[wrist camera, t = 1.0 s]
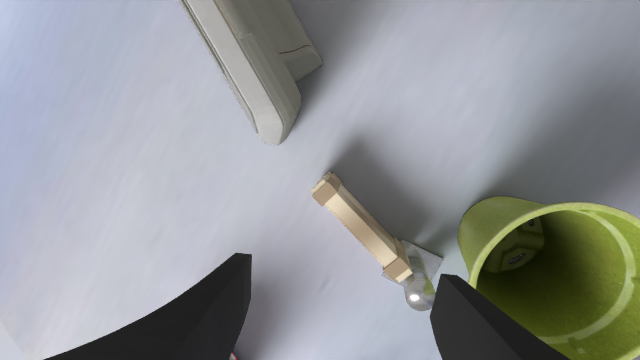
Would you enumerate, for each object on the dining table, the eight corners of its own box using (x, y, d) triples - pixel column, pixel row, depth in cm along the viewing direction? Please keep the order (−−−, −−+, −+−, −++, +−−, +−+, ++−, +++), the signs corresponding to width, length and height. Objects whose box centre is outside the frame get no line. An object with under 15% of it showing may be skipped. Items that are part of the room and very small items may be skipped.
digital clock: (166, -43, 24) (10, -169, 13) (272, -97, 22) (187, -294, 11) (240, 158, 26) (155, 183, 15) (342, 123, 24) (324, 125, 14)
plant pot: (409, 221, 25) (431, 275, 16) (516, 147, 22) (606, 163, 14) (480, 309, 25) (538, 405, 17) (592, 244, 23) (723, 317, 14)
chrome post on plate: (442, 258, 25) (459, 288, 20) (421, 294, 25) (433, 330, 21) (401, 239, 25) (409, 264, 20) (382, 275, 26) (385, 306, 21)
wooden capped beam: (407, 250, 25) (414, 272, 21) (393, 261, 25) (398, 285, 21) (330, 169, 24) (324, 178, 21) (317, 182, 25) (308, 192, 21)
